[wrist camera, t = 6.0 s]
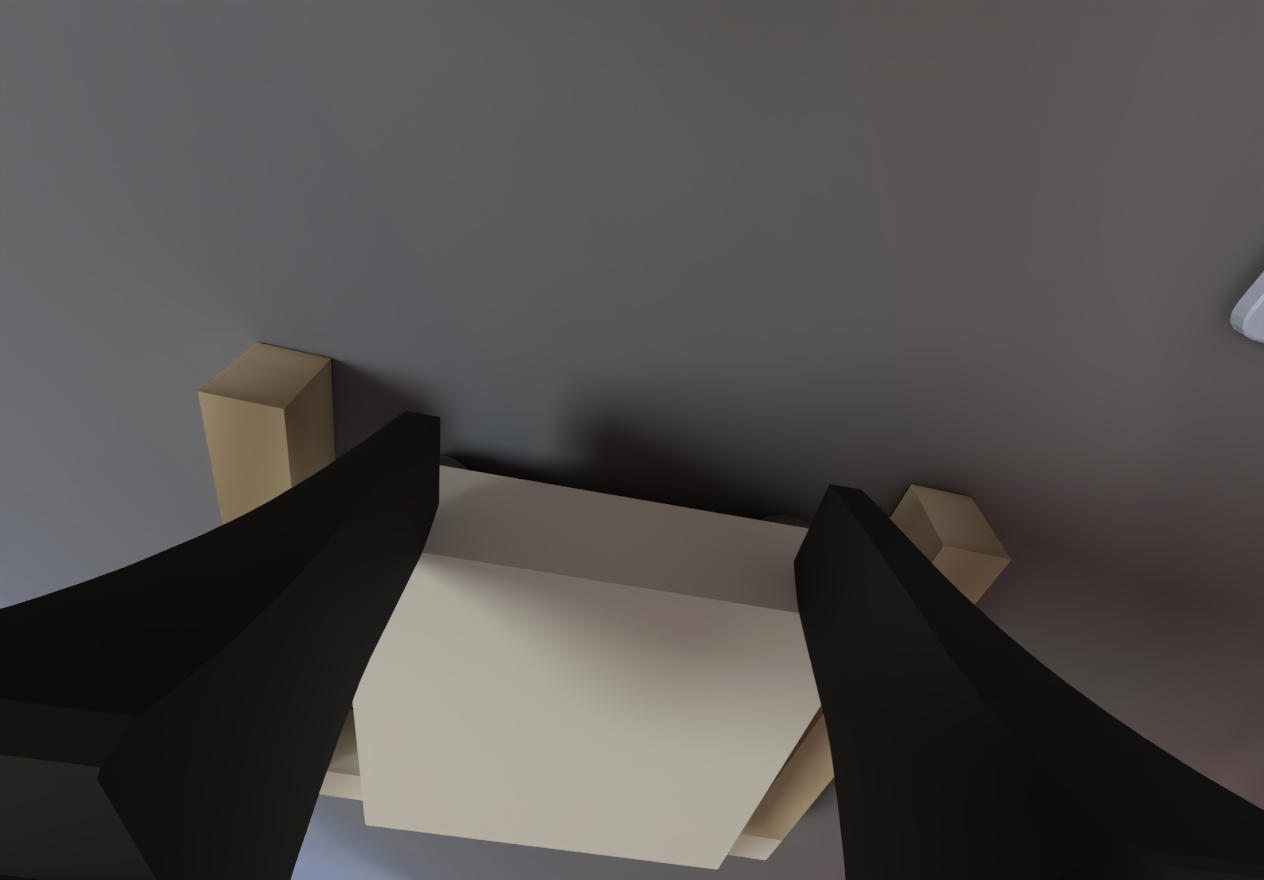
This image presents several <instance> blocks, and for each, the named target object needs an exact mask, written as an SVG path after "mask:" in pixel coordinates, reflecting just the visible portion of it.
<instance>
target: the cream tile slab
mask: <svg viewBox="0 0 1264 880" xmlns="http://www.w3.org/2000/svg"><path fill="white" fill-rule="evenodd" d="M809 527H810V524H808V523H807V522H806V521H804V520H802V519H800V518H797V517H794V516H790V515H773V516H769V517H766V518H763V519H761V520H755V519H750V518H744V517H738V516H732V515H726V514H721V513H715V512H709V511H703V510H697V509H691V508H686V507H680V506H674V505H668V504H662V503H657V502H651V501H645V500H639V499H633V498H627V497H622V496H616V495H610V494H604V493H598V492H593V491H587V490H581V489H575V488H569V487H563V486H558V485H552V484H546V483H540V482H534V481H529V480H523V479H517V478H511V477H505V476H499V475H494V474H488V473H482V472H476V471H470V470H468V469H467V468H466V467H465V466H464V465H463V464H462V463H460V462H459V461H457V460H455V459H453V458H450V457H447V456H444V455H440V481H439V506H438V509H437V512H436V515H435V518H434V521H433V524H432V527H431V530H430V533H429V536H428V539H427V541H426V544H425V547H424V549H423V551H422V554H421V557H420V559H419V561H418V563H417V565H416V567H415V569H414V571H413V573H412V575H411V577H410V579H409V581H408V583H407V585H406V587H405V589H404V591H403V593H402V595H401V597H400V599H399V601H398V603H397V605H396V608H395V610H394V612H393V614H392V616H391V618H390V620H389V622H388V624H387V626H386V628H385V630H384V632H383V634H382V636H381V638H380V640H379V642H378V644H377V646H376V648H375V650H374V652H373V654H372V656H371V658H370V660H369V663H368V665H367V667H366V669H365V672H364V674H363V676H362V678H361V681H360V683H359V686H358V689H357V691H356V694H355V697H354V699H353V712H354V721H355V731H356V740H357V750H358V759H359V769H360V778H361V788H362V797H363V806H364V816H365V825H370V826H378V827H385V828H393V829H401V830H409V831H417V832H425V833H433V834H441V835H449V836H457V837H465V838H473V839H480V840H488V841H496V842H504V843H512V844H520V845H528V846H536V847H544V848H552V849H560V850H568V851H575V852H583V853H591V854H599V855H607V856H615V857H623V858H631V859H639V860H647V861H655V862H663V863H670V864H678V865H686V866H694V867H702V868H710V869H718V868H719V867H720V865H721V863H722V862H723V860H724V859H725V857H726V855H727V854H728V852H729V851H730V849H731V847H732V846H733V844H734V843H735V841H736V840H737V838H738V836H739V835H740V833H741V832H742V830H743V828H744V827H745V825H746V824H747V822H748V820H749V819H750V817H751V816H752V814H753V812H754V811H755V809H756V808H757V806H758V805H759V803H760V801H761V800H762V798H763V797H764V795H765V793H766V792H767V790H768V789H769V787H770V785H771V784H772V782H773V781H774V779H775V777H776V776H777V774H778V773H779V771H780V770H781V768H782V766H783V765H784V763H785V762H786V760H787V758H788V757H789V755H790V754H791V752H792V750H793V749H794V747H795V746H796V744H797V743H798V741H799V739H800V738H801V736H802V735H803V733H804V731H805V730H806V728H807V727H808V725H809V723H810V722H811V720H812V719H813V717H814V715H815V714H816V712H817V711H818V709H819V708H820V706H821V703H820V699H819V694H818V690H817V686H816V682H815V678H814V674H813V670H812V666H811V662H810V658H809V654H808V650H807V646H806V641H805V637H804V633H803V629H802V624H801V620H800V615H799V611H798V603H797V594H796V585H795V572H794V559H795V557H796V555H797V553H798V551H799V549H800V546H801V544H802V542H803V540H804V538H805V536H806V534H807V532H808V529H809Z"/></svg>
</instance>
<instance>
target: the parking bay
mask: <svg viewBox="0 0 1264 880" xmlns="http://www.w3.org/2000/svg"><path fill="white" fill-rule="evenodd" d="M198 395H199V401H200V406H201V412H202V417H203V422H204V428H205V433H206V438H207V444H208V449H209V454H210V460H211V465H212V470H213V476H214V481H215V487H216V492H217V497H218V503H219V508H220V513H221V519H222V524H223V525H224V524H226V523H228V522H230V521H232V520H234V519H236V518H238V517H240V516H242V515H244V514H246V513H248V512H250V511H252V510H253V509H255V508H257V507H259V506H261V505H263V504H265V503H266V502H268V501H270V500H272V499H274V498H275V497H277V496H279V495H280V494H282V493H284V492H285V491H287V490H289V489H290V488H292V487H294V486H295V485H297V484H299V483H300V482H302V481H304V480H305V479H307V478H309V477H310V476H312V475H314V474H315V473H317V472H318V471H320V470H321V469H323V468H324V467H326V466H327V465H329V464H330V463H332V462H333V461H335V438H334V415H333V393H332V370H331V358H326V357H322V356H317V355H312V354H308V353H303V352H299V351H294V350H289V349H285V348H280V347H275V346H271V345H266V344H262V343H257V342H256V343H255V344H254V345H253V346H252V347H250V348H249V349H248V350H247V351H246V352H244V353H243V354H242V355H241V356H240V357H238V358H237V359H236V360H235V361H234V362H232V363H231V364H230V365H229V366H228V367H226V368H225V369H224V370H223V371H222V372H220V373H219V374H218V375H217V376H215V377H214V378H213V379H212V380H211V381H209V382H208V383H207V384H206V385H205V386H203V387H202V388H201V389H200V390H199V391H198ZM890 519H891V520H892V521H893V522H894V523H895V524H896V526H897V527H898V528H899V529H900V530H901V531H902V532H903V533H904V534H905V535H906V536H907V537H908V538H909V539H910V540H911V542H912V543H913V544H914V545H915V546H916V547H917V548H918V549H919V550H920V551H921V552H922V553H923V554H924V555H925V556H926V557H927V558H928V559H929V560H930V561H931V563H932V564H933V565H934V566H935V567H936V568H937V569H938V570H939V571H940V572H941V573H942V574H943V575H944V576H945V577H946V578H947V579H948V580H949V581H950V582H951V583H952V584H953V585H954V586H955V587H956V588H957V589H958V590H959V591H960V592H961V593H962V594H963V595H965V596H966V597H967V598H968V599H969V600H970V601H971V602H972V603H973V604H974V605H975V604H976V603H977V601H978V600H979V599H980V598H981V596H982V595H983V594H984V593H985V591H986V590H987V589H988V588H989V587H990V585H991V584H992V583H993V582H994V580H995V579H996V578H997V577H998V576H999V574H1000V573H1001V572H1002V571H1003V569H1004V568H1005V567H1006V566H1007V565H1008V563H1009V562H1010V561H1011V558H1010V557H1009V555H1008V554H1007V552H1006V551H1005V549H1004V547H1003V546H1002V544H1001V543H1000V541H999V540H998V538H997V536H996V535H995V533H994V532H993V530H992V529H991V527H990V525H989V524H988V522H987V521H986V519H985V518H984V516H983V514H982V513H981V511H980V510H979V508H978V507H977V505H976V503H975V502H974V500H973V499H972V497H968V496H964V495H959V494H954V493H950V492H945V491H941V490H936V489H931V488H927V487H922V486H917V485H913V484H911V485H910V487H909V489H908V490H907V492H906V493H905V495H904V497H903V498H902V500H901V501H900V503H899V505H898V506H897V508H896V509H895V511H894V513H893V514H892V516H891V517H890ZM833 778H834V771H833V764H832V757H831V750H830V744H829V739H828V734H827V729H826V724H825V719H824V715H823V711H822V707H821V706H820V708H819V709H818V711H817V712H816V714H815V715H814V717H813V719H812V720H811V722H810V723H809V725H808V727H807V728H806V730H805V731H804V733H803V735H802V736H801V738H800V739H799V741H798V743H797V744H796V746H795V747H794V749H793V750H792V752H791V754H790V755H789V757H788V758H787V760H786V762H785V763H784V765H783V766H782V768H781V770H780V771H779V773H778V774H777V776H776V777H775V779H774V781H773V782H772V784H771V785H770V787H769V789H768V790H767V792H766V793H765V795H764V797H763V798H762V800H761V801H760V803H759V805H758V806H757V808H756V809H755V811H754V812H753V814H752V816H751V817H750V819H749V820H748V822H747V824H746V825H745V827H744V828H743V830H742V832H741V833H740V835H739V836H738V838H737V840H736V841H735V843H734V844H733V846H732V847H731V849H730V851H729V852H728V854H727V855H733V856H740V857H747V858H754V859H760V860H767V858H768V857H769V856H770V855H771V853H772V852H773V851H774V850H775V849H776V847H777V846H778V845H779V844H780V842H781V841H782V840H783V839H784V838H785V836H786V835H787V834H788V833H789V831H790V830H791V829H792V828H793V827H794V825H795V824H796V823H797V822H798V820H799V819H800V818H801V817H802V816H803V814H804V813H805V812H806V811H807V809H808V808H809V807H810V806H811V804H812V803H813V802H814V801H815V800H816V798H817V797H818V796H819V795H820V793H821V792H822V791H823V790H824V789H825V787H826V786H827V785H828V784H829V782H830V781H831V780H832V779H833ZM319 794H322V795H329V796H335V797H342V798H349V799H356V800H362V801H363V797H362V788H361V778H360V769H359V759H358V750H357V740H356V731H355V721H354V712H353V709H350V710H349V713H348V715H347V718H346V721H345V723H344V726H343V728H342V731H341V734H340V737H339V739H338V742H337V745H336V748H335V751H334V753H333V756H332V759H331V762H330V765H329V767H328V770H327V773H326V776H325V779H324V781H323V784H322V787H321V790H320V793H319Z"/></svg>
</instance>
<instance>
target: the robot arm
mask: <svg viewBox="0 0 1264 880" xmlns="http://www.w3.org/2000/svg"><path fill="white" fill-rule="evenodd" d="M1230 323H1231V325H1232V327H1233V329H1234V330H1236V331H1238V332H1240V333H1241V334H1243V335H1245V336H1247V337H1248V338H1250V339H1252V340H1255V341H1259V342H1262V343H1264V272H1263V273H1262V274H1261V275H1260V276H1259V278H1258V279H1257V280H1256V281H1255V282H1254V284H1253V285H1252V286H1251V287H1250V288H1249V290H1248V291H1247V292H1246V293H1245V294H1244V296H1243V297H1242V298H1241V299H1240V300H1239V302H1238V303H1237V305H1236V306H1235V308H1234V309H1233V311H1232V313H1231V319H1230ZM439 481H440V417H436V416H430V415H424V414H419V413H413V412H407V411H406V412H404V413H403V414H401V415H400V416H398V417H397V418H395V419H394V420H392V421H391V422H389V423H388V424H387V425H385V426H384V427H382V428H381V429H380V430H378V431H377V432H375V433H374V434H372V435H371V436H370V437H368V438H367V439H365V440H364V441H363V442H361V443H360V444H358V445H357V446H355V447H354V448H353V449H351V450H350V451H348V452H347V453H345V454H344V455H342V456H341V457H339V458H338V459H336V460H335V461H333V462H332V463H330V464H329V465H327V466H326V467H324V468H323V469H321V470H320V471H318V472H317V473H315V474H314V475H312V476H310V477H309V478H307V479H305V480H304V481H302V482H300V483H299V484H297V485H295V486H294V487H292V488H290V489H289V490H287V491H285V492H284V493H282V494H280V495H279V496H277V497H275V498H274V499H272V500H270V501H268V502H266V503H265V504H263V505H261V506H259V507H257V508H255V509H253V510H252V511H250V512H248V513H246V514H244V515H242V516H240V517H238V518H236V519H234V520H232V521H230V522H228V523H226V524H224V525H222V526H220V527H217V528H215V529H213V530H211V531H209V532H207V533H205V534H203V535H201V536H198V537H196V538H194V539H191V540H189V541H187V542H184V543H182V544H179V545H177V546H175V547H172V548H170V549H167V550H165V551H163V552H160V553H158V554H155V555H153V556H151V557H148V558H146V559H144V560H141V561H139V562H136V563H134V564H132V565H129V566H126V567H124V568H121V569H118V570H116V571H113V572H110V573H107V574H105V575H102V576H99V577H96V578H94V579H91V580H88V581H85V582H83V583H80V584H77V585H74V586H71V587H68V588H65V589H62V590H59V591H56V592H53V593H50V594H47V595H44V596H41V597H38V598H35V599H31V600H28V601H25V602H22V603H19V604H16V605H12V606H9V607H5V608H2V609H0V880H290V879H291V876H292V873H293V870H294V867H295V864H296V861H297V858H298V855H299V852H300V849H301V846H302V843H303V840H304V837H305V834H306V831H307V828H308V825H309V822H310V819H311V816H312V813H313V810H314V807H315V804H316V801H317V798H318V795H319V793H320V790H321V787H322V784H323V781H324V779H325V776H326V773H327V770H328V767H329V765H330V762H331V759H332V756H333V753H334V751H335V748H336V745H337V742H338V739H339V737H340V734H341V731H342V728H343V726H344V723H345V721H346V718H347V715H348V713H349V710H350V707H351V705H352V702H353V699H354V697H355V694H356V691H357V689H358V686H359V683H360V681H361V678H362V676H363V674H364V672H365V669H366V667H367V665H368V663H369V660H370V658H371V656H372V654H373V652H374V650H375V648H376V646H377V644H378V642H379V640H380V638H381V636H382V634H383V632H384V630H385V628H386V626H387V624H388V622H389V620H390V618H391V616H392V614H393V612H394V610H395V608H396V605H397V603H398V601H399V599H400V597H401V595H402V593H403V591H404V589H405V587H406V585H407V583H408V581H409V579H410V577H411V575H412V573H413V571H414V569H415V567H416V565H417V563H418V561H419V559H420V557H421V554H422V551H423V549H424V547H425V544H426V541H427V539H428V536H429V533H430V530H431V527H432V524H433V521H434V518H435V515H436V512H437V509H438V506H439ZM794 572H795V585H796V594H797V603H798V611H799V615H800V620H801V624H802V629H803V633H804V637H805V641H806V646H807V650H808V654H809V658H810V662H811V666H812V670H813V674H814V678H815V682H816V686H817V690H818V694H819V699H820V703H821V707H822V711H823V715H824V719H825V724H826V729H827V734H828V739H829V744H830V750H831V757H832V764H833V771H834V779H835V786H836V793H837V801H838V810H839V819H840V828H841V837H842V846H843V855H844V866H845V878H846V880H1264V810H1262V809H1260V808H1259V807H1257V806H1255V805H1254V804H1252V803H1250V802H1248V801H1247V800H1245V799H1243V798H1242V797H1240V796H1238V795H1236V794H1235V793H1233V792H1231V791H1229V790H1228V789H1226V788H1224V787H1223V786H1221V785H1219V784H1217V783H1216V782H1214V781H1212V780H1211V779H1209V778H1207V777H1205V776H1204V775H1202V774H1200V773H1199V772H1197V771H1196V770H1194V769H1192V768H1191V767H1189V766H1188V765H1186V764H1184V763H1183V762H1181V761H1180V760H1178V759H1177V758H1175V757H1174V756H1172V755H1170V754H1169V753H1167V752H1166V751H1164V750H1163V749H1161V748H1160V747H1158V746H1156V745H1155V744H1153V743H1152V742H1150V741H1149V740H1147V739H1146V738H1144V737H1142V736H1141V735H1140V734H1138V733H1137V732H1135V731H1134V730H1132V729H1131V728H1129V727H1128V726H1126V725H1125V724H1123V723H1122V722H1120V721H1119V720H1118V719H1116V718H1115V717H1113V716H1112V715H1110V714H1109V713H1107V712H1106V711H1105V710H1103V709H1102V708H1101V707H1099V706H1098V705H1096V704H1095V703H1094V702H1092V701H1091V700H1090V699H1088V698H1087V697H1085V696H1084V695H1083V694H1081V693H1080V692H1079V691H1077V690H1076V689H1075V688H1073V687H1072V686H1070V685H1069V684H1068V683H1066V682H1065V681H1064V680H1062V679H1061V678H1060V677H1059V676H1057V675H1056V674H1055V673H1053V672H1052V671H1051V670H1050V669H1048V668H1047V667H1046V666H1044V665H1043V664H1042V663H1041V662H1040V661H1038V660H1037V659H1036V658H1035V657H1033V656H1032V655H1031V654H1030V653H1029V652H1027V651H1026V650H1025V649H1024V648H1023V647H1021V646H1020V645H1019V644H1018V643H1017V642H1015V641H1014V640H1013V639H1012V638H1011V637H1009V636H1008V635H1007V634H1006V633H1005V632H1004V631H1002V630H1001V629H1000V628H999V627H998V626H997V625H996V624H995V623H993V622H992V621H991V620H990V619H989V618H988V617H987V616H986V615H985V614H984V613H983V612H982V611H980V610H979V609H978V608H977V607H976V606H975V605H974V604H973V603H972V602H971V601H970V600H969V599H968V598H967V597H966V596H965V595H963V594H962V593H961V592H960V591H959V590H958V589H957V588H956V587H955V586H954V585H953V584H952V583H951V582H950V581H949V580H948V579H947V578H946V577H945V576H944V575H943V574H942V573H941V572H940V571H939V570H938V569H937V568H936V567H935V566H934V565H933V564H932V563H931V561H930V560H929V559H928V558H927V557H926V556H925V555H924V554H923V553H922V552H921V551H920V550H919V549H918V548H917V547H916V546H915V545H914V544H913V543H912V542H911V540H910V539H909V538H908V537H907V536H906V535H905V534H904V533H903V532H902V531H901V530H900V529H899V528H898V527H897V526H896V524H895V523H894V522H893V521H892V520H891V519H890V518H889V517H888V516H887V515H886V514H885V513H884V512H883V511H882V510H881V509H880V508H879V507H878V506H877V505H876V504H875V502H874V501H872V500H871V499H870V498H869V497H868V496H867V495H866V494H865V493H864V492H863V491H862V490H860V489H854V488H849V487H843V486H837V485H831V484H830V485H829V487H828V489H827V491H826V493H825V495H824V497H823V500H822V502H821V504H820V506H819V508H818V510H817V512H816V514H815V517H814V519H813V521H812V523H811V525H810V527H809V529H808V532H807V534H806V536H805V538H804V540H803V542H802V544H801V546H800V549H799V551H798V553H797V555H796V557H795V559H794Z"/></svg>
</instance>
